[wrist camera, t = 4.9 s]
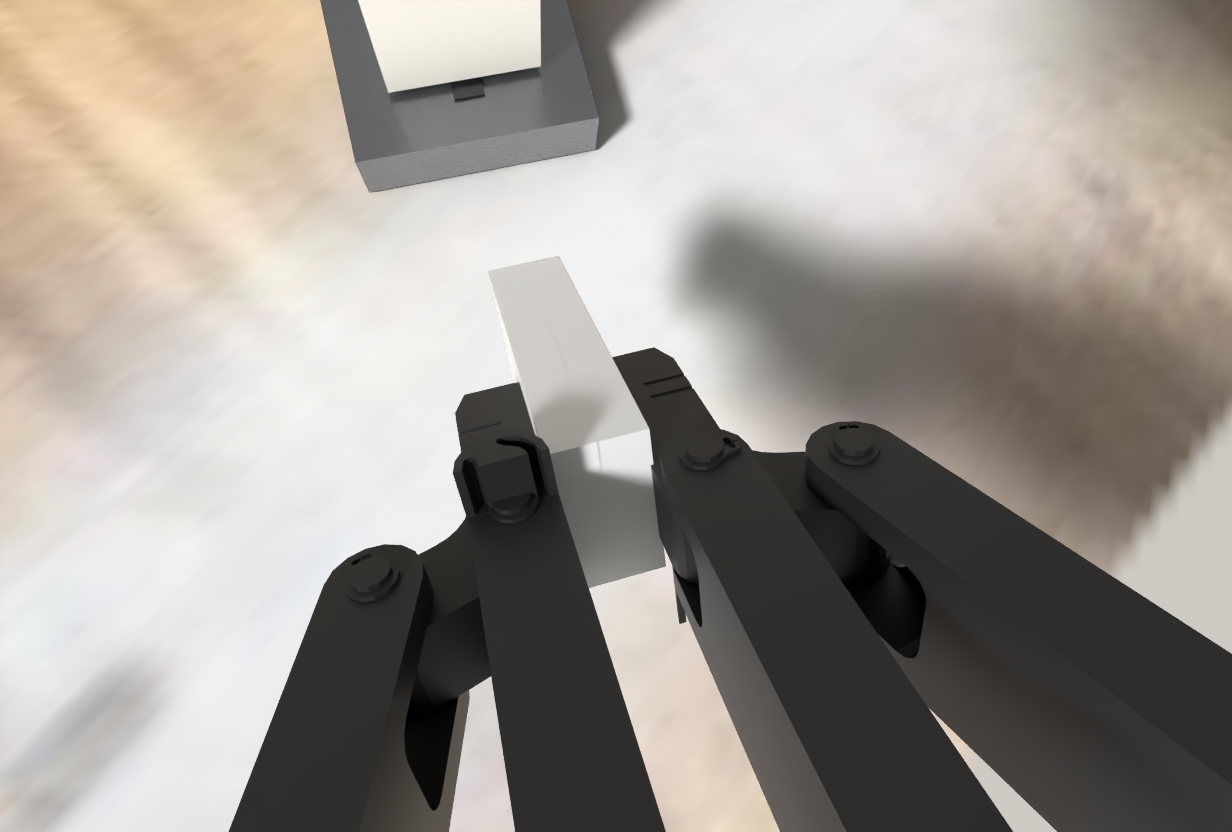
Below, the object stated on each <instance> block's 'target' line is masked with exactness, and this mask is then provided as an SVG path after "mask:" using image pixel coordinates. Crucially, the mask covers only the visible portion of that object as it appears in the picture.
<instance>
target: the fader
mask: <svg viewBox="0 0 1232 832" xmlns="http://www.w3.org/2000/svg"><path fill="white" fill-rule="evenodd" d="M358 2H359V5H360V8H361V11H362V14H363V17H364V20H365V23H366V26H367V29H368V32H369V35H370V39H371V42H372V45H373V48H374V51H375V54H376V57H377V60H378V63H379V66H380V69H381V72H382V75H383V78H384V81H385V84H386V87H387V90H388V93H391V92H396V91H402V90H408V89H414V88H419V87H425V86H431V85H437V84H442V83H448V82H454V81H460V80H466V79H471V78H477V77H483V76H489V75H494V74H500V73H506V72H512V71H517V70H523V69H529V68H535V67H540V66H541V19H540V0H358Z"/></svg>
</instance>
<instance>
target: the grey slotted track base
mask: <svg viewBox="0 0 1232 832" xmlns="http://www.w3.org/2000/svg"><path fill="white" fill-rule="evenodd" d="M320 1H321V6H322V11H323V15H324V20H325V24H326V29H327V34H328V38H329V43H330V48H331V52H332V57H333V61H334V66H335V71H336V75H337V80H338V84H339V89H340V94H341V98H342V103H343V107H344V112H345V117H346V121H347V126H348V130H349V135H350V140H351V144H352V149H353V154H354V158H355V163H356V165H357V167H358V169H359V171H360V173H361V176H362V178H363V180H364V182H365V184H366V186H367V188H368V191H369V193H370V192H375V191H381V190H386V189H391V188H396V187H402V186H407V185H412V184H417V183H423V182H428V181H433V180H438V179H444V178H449V177H454V176H459V175H465V174H470V173H475V172H480V171H486V170H491V169H496V168H501V167H507V166H512V165H517V164H522V163H528V162H533V161H538V160H543V159H549V158H554V157H559V156H565V155H570V154H575V153H580V152H586V151H591V150H595V149H596V141H597V133H598V125H599V114H598V111H597V107H596V104H595V100H594V97H593V93H592V89H591V86H590V82H589V79H588V75H587V71H586V68H585V64H584V61H583V57H582V53H581V50H580V46H579V43H578V39H577V35H576V32H575V28H574V25H573V21H572V17H571V14H570V10H569V7H568V3H567V0H540V19H541V66H540V67H535V68H529V69H523V70H517V71H512V72H506V73H500V74H494V75H489V76H483V77H477V78H471V79H466V80H460V81H454V82H448V83H442V84H437V85H431V86H425V87H419V88H414V89H408V90H402V91H396V92H391V93H388V90H387V87H386V84H385V81H384V78H383V75H382V72H381V69H380V66H379V63H378V60H377V57H376V54H375V51H374V48H373V45H372V42H371V39H370V35H369V32H368V29H367V26H366V23H365V20H364V17H363V14H362V11H361V8H360V5H359V2H358V0H320Z"/></svg>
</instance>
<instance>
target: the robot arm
mask: <svg viewBox="0 0 1232 832" xmlns="http://www.w3.org/2000/svg"><path fill="white" fill-rule="evenodd" d="M488 274H489V278H490V283H491V287H492V291H493V295H494V300H495V304H496V308H497V312H498V317H499V321H500V325H501V329H502V334H503V338H504V342H505V347H506V351H507V355H508V359H509V364H510V368H511V372H512V376H513V381H514V383H512V384H508V385H504V386H500V387H495V388H491V389H487V390H483V391H479V392H475V393H470V394H466V395H464V397H463V399H462V401H461V403H460V405H459V407H458V409H457V411H456V413H455V415H456V422H457V428H458V433H459V441H460V446H461V454H460V455H459V456H458V458H457V459H456V460H455V463H454V469H453V475H454V478H455V481H456V484H457V488H458V491H459V494H460V497H461V500H462V504H463V507H464V510H465V513H466V518H465V520H464V521H463V523H462V524H461V525H460V527H459V528H458V529H457V530H456V531H455V532H454V533H453V534H452V535H451V536H450V537H448V538H447V539H446V540H444V541H442V542H441V543H439V544H438V545H436V546H434V547H432V548H431V549H429V550H427V551H425V552H423V553H421V554H419V555H418V554H417V553H416V552H415V551H414V550H411V549H409V548H407V547H405V546H402V545H385V544H384V545H380V546H376V547H372V548H368V549H365V550H363V551H361V552H359V553H357V554H355V555H353V556H351V557H349V558H347V559H346V560H345V561H344V562H343V563H341V564H340V565H339V566H338V567H337V568H336V569H334V570H333V571H332V573H331V575H330V576H329V578H328V579H327V581H326V583H325V584H324V586H323V589H322V591H321V594H320V596H319V599H318V602H317V604H316V607H315V609H314V612H313V614H312V617H311V620H310V622H309V625H308V627H307V630H306V633H305V635H304V638H303V640H302V643H301V646H300V648H299V651H298V653H297V656H296V659H295V661H294V664H293V666H292V669H291V672H290V674H289V677H288V679H287V682H286V685H285V687H284V690H283V692H282V695H281V697H280V700H279V703H278V705H277V708H276V710H275V713H274V716H273V718H272V721H271V723H270V726H269V729H268V731H267V734H266V736H265V739H264V742H263V744H262V747H261V749H260V752H259V755H258V757H257V760H256V762H255V765H254V767H253V770H252V773H251V775H250V778H249V780H248V783H247V786H246V788H245V791H244V793H243V796H242V799H241V801H240V804H239V806H238V809H237V812H236V814H235V817H234V819H233V822H232V825H231V827H230V830H229V832H449V827H450V820H451V814H452V808H453V801H454V795H455V788H456V782H457V776H458V769H459V763H460V756H461V750H462V744H463V737H464V731H465V724H466V718H467V712H468V705H469V699H470V698H469V689H471V688H473V687H474V686H476V685H477V684H479V683H481V682H482V681H484V680H485V679H487V678H489V677H490V676H491V677H492V683H493V690H494V696H495V703H496V709H497V716H498V722H499V729H500V735H501V742H502V748H503V755H504V761H505V768H506V774H507V781H508V787H509V794H510V800H511V807H512V813H513V820H514V826H515V832H666V831H665V828H664V825H663V822H662V818H661V815H660V812H659V809H658V806H657V803H656V799H655V796H654V793H653V790H652V787H651V784H650V780H649V777H648V774H647V771H646V768H645V765H644V761H643V758H642V755H641V752H640V749H639V746H638V743H637V739H636V736H635V733H634V730H633V727H632V724H631V720H630V717H629V714H628V711H627V708H626V705H625V701H624V698H623V695H622V692H621V689H620V686H619V682H618V679H617V676H616V673H615V670H614V667H613V663H612V660H611V657H610V654H609V651H608V648H607V645H606V641H605V638H604V635H603V632H602V629H601V626H600V622H599V619H598V616H597V613H596V610H595V607H594V603H593V600H592V597H591V594H590V591H589V588H590V587H594V586H597V585H601V584H605V583H608V582H612V581H615V580H619V579H622V578H626V577H629V576H633V575H637V574H640V573H644V572H647V571H651V570H654V569H658V568H661V567H665V566H666V564H665V556H664V548H665V550H666V552H667V554H668V556H669V559H670V561H671V563H672V566H673V575H674V584H675V593H676V602H677V611H678V617H679V624H681V623H684V622H686V615H687V618H688V620H689V622H690V625H691V627H692V629H693V632H694V634H695V636H696V639H697V641H698V643H699V645H700V648H701V650H702V652H703V655H704V657H705V659H706V662H707V664H708V666H709V668H710V671H711V673H712V675H713V678H714V680H715V682H716V685H717V687H718V689H719V692H720V694H721V696H722V698H723V701H724V703H725V705H726V708H727V710H728V712H729V715H730V717H731V719H732V722H733V724H734V726H735V728H736V731H737V733H738V735H739V738H740V740H741V742H742V745H743V747H744V749H745V751H746V754H747V756H748V758H749V761H750V763H751V765H752V768H753V770H754V772H755V775H756V777H757V779H758V781H759V784H760V786H761V788H762V791H763V793H764V795H765V798H766V800H767V802H768V804H769V807H770V809H771V811H772V814H773V816H774V818H775V821H776V823H777V825H778V828H779V830H780V832H1013V831H1012V829H1011V828H1010V827H1009V825H1008V824H1007V822H1006V821H1005V819H1004V818H1003V817H1002V815H1001V813H1000V812H999V811H998V809H997V808H996V806H995V805H994V803H993V802H992V800H991V799H990V798H989V796H988V795H987V793H986V791H985V790H984V789H983V787H982V786H981V785H980V783H979V781H978V780H977V778H976V777H975V775H974V774H973V772H972V771H971V770H970V768H969V767H968V765H967V764H966V762H965V761H964V759H963V758H962V756H961V755H960V754H959V752H958V751H957V749H956V748H955V746H954V745H953V743H952V742H951V740H950V739H949V737H948V736H947V735H946V733H945V732H944V730H943V729H942V727H941V726H940V724H939V723H938V721H937V720H936V718H935V717H934V716H933V714H932V713H931V711H930V710H929V708H930V709H931V710H932V711H933V712H934V713H935V714H936V715H937V716H938V717H939V718H940V719H941V720H942V721H943V722H944V723H945V724H946V725H947V726H948V727H949V728H950V729H951V730H952V731H953V732H955V733H956V734H957V735H958V736H959V737H960V738H961V739H962V740H963V741H964V742H965V743H966V744H967V745H968V746H969V747H970V748H971V749H972V750H973V751H974V752H975V753H976V754H977V755H978V756H979V757H980V758H982V759H983V760H984V761H985V762H986V763H987V764H988V765H989V766H990V767H991V768H992V769H993V770H994V771H995V772H996V773H997V774H998V775H999V776H1000V777H1001V778H1002V779H1003V780H1004V781H1005V782H1007V784H1009V785H1010V786H1011V787H1012V788H1013V789H1014V790H1015V791H1016V792H1017V793H1018V794H1019V795H1020V796H1021V797H1022V798H1023V799H1024V800H1025V801H1026V802H1027V803H1028V804H1029V805H1030V806H1031V807H1033V809H1034V810H1036V811H1037V812H1038V813H1039V814H1040V815H1041V816H1042V817H1043V818H1044V819H1045V820H1046V821H1047V822H1048V823H1049V824H1050V825H1051V826H1052V827H1053V828H1054V829H1055V830H1056V831H1057V832H1232V654H1231V653H1230V652H1228V651H1226V650H1225V649H1223V648H1222V647H1220V646H1219V645H1217V644H1215V643H1214V642H1213V641H1211V640H1209V639H1208V638H1206V637H1205V636H1203V635H1202V634H1200V633H1199V632H1197V631H1196V630H1194V629H1192V628H1191V627H1189V626H1188V625H1186V624H1185V623H1183V622H1182V621H1180V620H1179V619H1177V618H1176V617H1174V616H1172V615H1171V614H1169V613H1168V612H1166V611H1164V610H1163V609H1162V608H1160V607H1158V606H1157V605H1155V604H1154V603H1152V602H1151V601H1149V600H1148V599H1146V598H1145V597H1143V596H1142V595H1140V594H1139V593H1137V592H1135V591H1134V590H1132V589H1131V588H1129V587H1128V586H1126V585H1125V584H1123V583H1122V582H1120V581H1118V580H1117V579H1115V578H1114V577H1112V576H1111V575H1109V574H1108V573H1106V572H1105V571H1103V570H1102V569H1100V568H1098V567H1097V566H1095V565H1094V564H1092V563H1091V562H1089V561H1088V560H1086V559H1085V558H1083V557H1081V556H1080V555H1078V554H1077V553H1075V552H1074V551H1072V550H1071V549H1069V548H1068V547H1066V546H1065V545H1063V544H1061V543H1060V542H1058V541H1057V540H1055V539H1054V538H1052V537H1051V536H1049V535H1048V534H1046V533H1044V532H1043V531H1041V530H1040V529H1038V528H1037V527H1035V526H1034V525H1032V524H1031V523H1029V522H1027V521H1026V520H1024V519H1023V518H1021V517H1020V516H1018V515H1017V514H1015V513H1014V512H1012V511H1011V510H1009V509H1007V508H1006V507H1004V506H1003V505H1001V504H1000V503H998V502H997V501H995V500H994V499H992V498H990V497H989V496H987V495H986V494H984V493H983V492H981V491H980V490H978V489H977V488H975V487H974V486H972V485H970V484H969V483H967V482H966V481H964V480H963V479H961V478H960V477H958V476H957V475H955V474H953V473H952V472H950V471H949V470H947V469H946V468H944V467H943V466H941V465H940V464H938V463H937V462H935V461H933V460H932V459H930V458H929V457H927V456H926V455H924V454H923V453H921V452H920V451H918V450H916V449H915V448H913V447H912V446H910V445H909V444H907V443H906V442H904V441H903V440H901V439H899V438H898V437H896V436H895V435H893V434H892V433H890V432H889V431H886V430H884V429H882V428H880V427H878V426H875V425H872V424H867V423H862V422H856V421H855V422H837V423H833V424H830V425H827V426H823V427H821V428H820V429H818V430H817V431H816V432H814V433H813V434H811V436H810V438H809V440H808V442H807V444H806V452H787V453H767V452H759V451H753V450H751V448H750V447H749V445H748V444H747V443H746V442H745V441H744V440H742V439H741V438H740V437H739V436H738V435H736V434H733V433H731V432H728V431H725V430H721V429H720V428H719V427H718V425H717V424H716V422H715V421H714V419H713V418H712V416H711V414H710V413H709V411H708V410H707V408H706V407H705V405H704V404H703V402H702V401H701V399H700V398H699V396H698V395H697V393H696V392H695V390H694V389H692V386H691V384H690V383H689V381H688V380H687V378H686V376H685V377H684V374H683V372H682V370H681V369H680V367H679V366H678V364H677V363H676V361H675V360H674V358H672V357H670V356H669V355H667V354H665V353H663V352H661V351H659V350H658V349H656V348H650V349H645V350H641V351H637V352H633V353H629V354H625V355H620V356H616V357H612V356H611V355H610V353H609V351H608V349H607V347H606V345H605V343H604V341H603V339H602V337H601V335H600V333H599V332H598V330H597V328H596V326H595V324H594V322H593V320H592V318H591V316H590V314H589V312H588V311H587V309H586V307H585V305H584V303H583V301H582V299H581V297H580V295H579V293H578V291H577V290H576V288H575V286H574V284H573V282H572V280H571V278H570V276H569V274H568V272H567V270H566V268H565V267H564V265H563V263H562V261H561V259H560V257H559V256H556V257H551V258H547V259H542V260H538V261H533V262H528V263H524V264H519V265H515V266H510V267H506V268H501V269H496V270H492V271H488ZM663 545H664V547H663ZM685 613H686V615H685ZM927 706H928V707H929V708H928V707H927Z"/></svg>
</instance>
